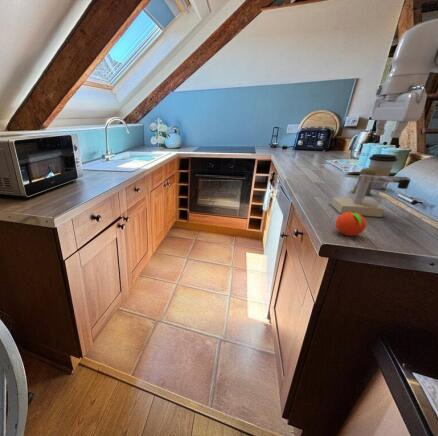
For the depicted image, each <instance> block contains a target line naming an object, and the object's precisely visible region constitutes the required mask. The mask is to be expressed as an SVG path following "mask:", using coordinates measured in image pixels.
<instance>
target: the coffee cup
mask: <svg viewBox="0 0 438 436" xmlns="http://www.w3.org/2000/svg"><path fill="white" fill-rule="evenodd" d="M368 159H369V160H370V161H369V164H368V168H371V169H375V170H376V175H375V176H390V174H391V172H392V170H393V168H394V165H395V163H396V162H398V159H397V155H393V154H385V153H374V154H372V155H371V156H370V157H369V158H368ZM385 184H386V182H374V181H372V185H371V190H381V189H383V187H384V185H385Z"/></svg>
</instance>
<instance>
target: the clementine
mask: <svg viewBox="0 0 438 436" xmlns="http://www.w3.org/2000/svg"><path fill="white" fill-rule="evenodd" d="M335 228H336V230H337V231H338V232H339V233H341V234H342V235H344V236H350V237H354V236H357V235H360V234H361V233H363V232H364V230H365V229H366V228H367V221H366V219H365V217H364V216H363V215H360V214H358V213H355V212H347V213H343V214H340V215H339V216H337V218H336V219H335Z"/></svg>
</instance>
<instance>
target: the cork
mask: <svg viewBox="0 0 438 436" xmlns="http://www.w3.org/2000/svg"><path fill="white" fill-rule="evenodd" d="M360 174H367V175H372V176H375V175H376V170H375V169H371V168H369V167H366V168H362V169H361V170H360V171H359V175H360ZM358 183H359V181H358V180H357V182H356V184H355V186H354V188H353V190H352V193H353V194H354V195H355V192H356V189H357V186H358ZM371 185H372V181H371V182H369V185H368V188H367V191H366V194H365V196H370V195H371V191H372V189H371Z"/></svg>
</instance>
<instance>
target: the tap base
mask: <svg viewBox="0 0 438 436" xmlns="http://www.w3.org/2000/svg"><path fill="white" fill-rule="evenodd" d="M368 185H369V182H361V181H359V183H358V186H357V189H356V192H355V194H354V195H353V198H348V197H332V200H331V203H330V205H331V207H333V208H334V209H335V210H336V211H337V212H338V213H339V214H340V215H341V214H343V213H347V212H355V213H358V214H360V215H361V216H363V217H364V216H366V217H376V218H382V217H383V214H384V212H385V210H386V209H385V208H384V207H382V206H381V205H379V204H378V203H377V202H375V201H374V200H372V199H366V195H365V194H366V191H367V188H368Z"/></svg>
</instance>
